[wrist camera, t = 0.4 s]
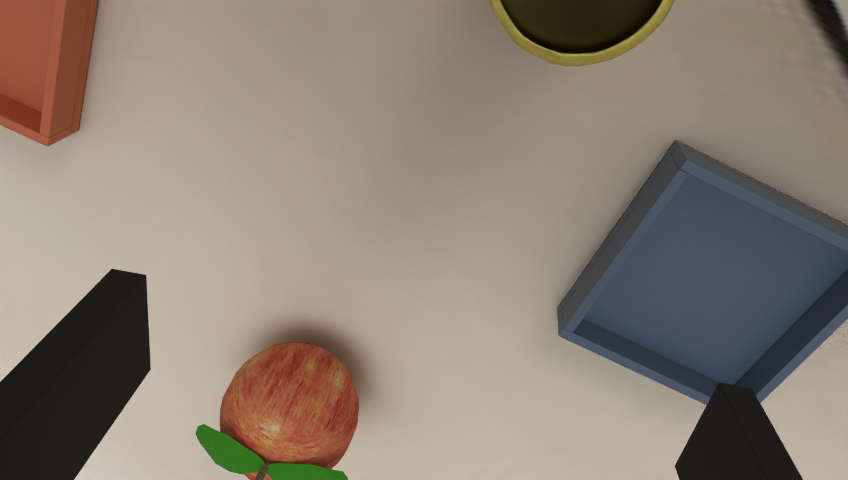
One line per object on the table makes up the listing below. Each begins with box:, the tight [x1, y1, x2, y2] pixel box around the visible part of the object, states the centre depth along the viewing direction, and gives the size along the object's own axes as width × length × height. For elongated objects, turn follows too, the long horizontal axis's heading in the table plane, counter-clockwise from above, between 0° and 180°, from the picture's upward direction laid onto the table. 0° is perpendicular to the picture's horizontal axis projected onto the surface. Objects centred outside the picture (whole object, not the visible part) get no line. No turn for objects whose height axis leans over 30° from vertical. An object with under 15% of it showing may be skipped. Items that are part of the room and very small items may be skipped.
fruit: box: [196, 343, 359, 480], centre depth 40 cm, size 9×10×10 cm
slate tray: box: [557, 140, 848, 405], centre depth 35 cm, size 12×12×3 cm
